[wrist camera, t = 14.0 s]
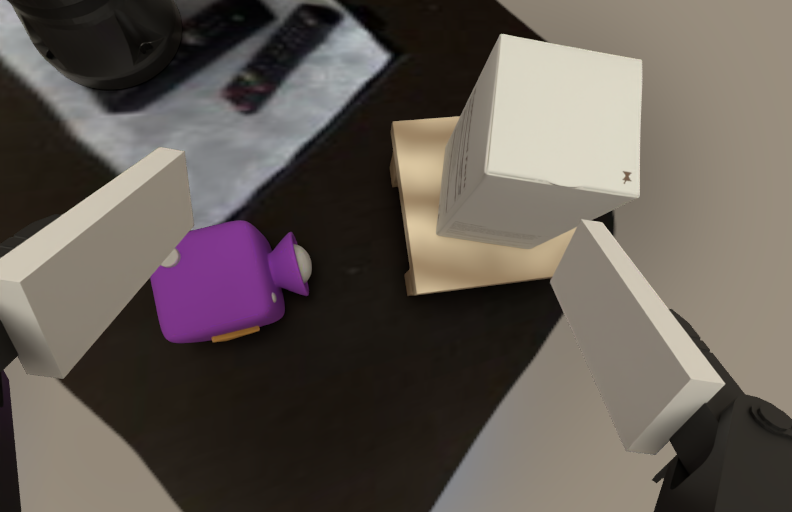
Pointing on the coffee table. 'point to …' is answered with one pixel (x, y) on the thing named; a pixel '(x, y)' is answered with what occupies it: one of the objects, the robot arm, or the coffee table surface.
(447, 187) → the supplement box
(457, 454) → the coffee table surface
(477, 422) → the coffee table surface
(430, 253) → the low wooden platform
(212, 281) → the toy camera
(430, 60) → the coffee table surface
